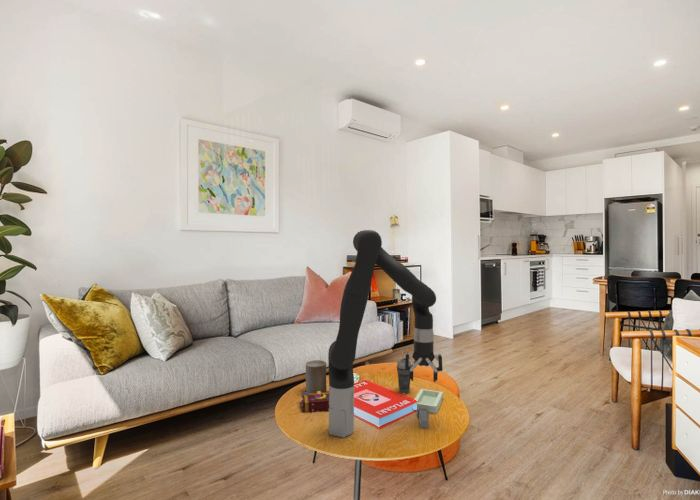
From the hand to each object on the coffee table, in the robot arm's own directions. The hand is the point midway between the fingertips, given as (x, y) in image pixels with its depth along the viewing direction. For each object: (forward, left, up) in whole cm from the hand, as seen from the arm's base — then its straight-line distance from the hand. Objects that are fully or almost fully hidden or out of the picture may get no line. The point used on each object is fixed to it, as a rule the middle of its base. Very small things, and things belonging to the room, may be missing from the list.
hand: (423, 380), depth 151 cm
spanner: (+1, 0, -16) cm, 16 cm away
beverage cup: (+27, +14, -16) cm, 35 cm away
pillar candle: (+11, +52, -16) cm, 56 cm away
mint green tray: (+17, +1, -16) cm, 24 cm away
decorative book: (-2, +44, -16) cm, 47 cm away
